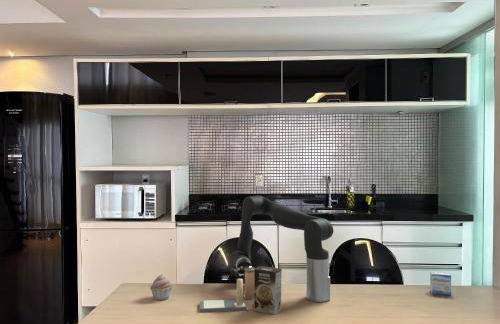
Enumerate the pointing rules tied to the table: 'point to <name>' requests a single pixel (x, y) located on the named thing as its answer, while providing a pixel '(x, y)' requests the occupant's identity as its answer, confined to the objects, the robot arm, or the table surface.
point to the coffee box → (267, 289)
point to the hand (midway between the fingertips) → (247, 275)
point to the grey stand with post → (226, 302)
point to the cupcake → (161, 288)
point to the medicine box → (440, 283)
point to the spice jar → (249, 282)
